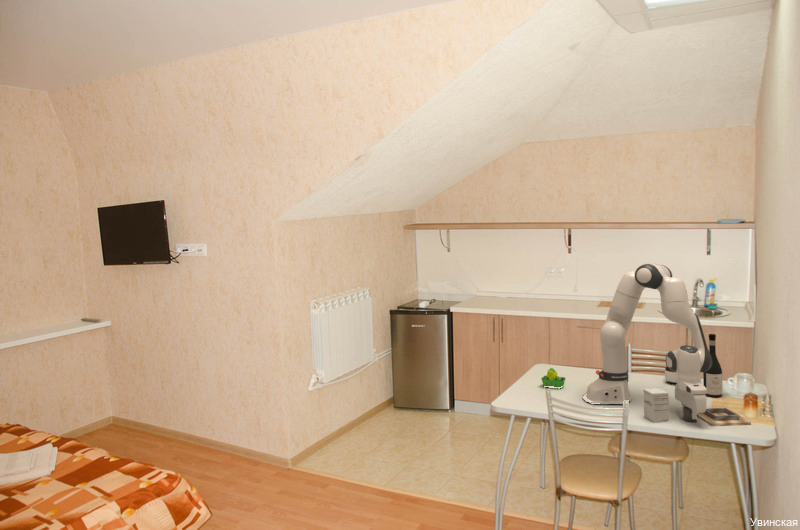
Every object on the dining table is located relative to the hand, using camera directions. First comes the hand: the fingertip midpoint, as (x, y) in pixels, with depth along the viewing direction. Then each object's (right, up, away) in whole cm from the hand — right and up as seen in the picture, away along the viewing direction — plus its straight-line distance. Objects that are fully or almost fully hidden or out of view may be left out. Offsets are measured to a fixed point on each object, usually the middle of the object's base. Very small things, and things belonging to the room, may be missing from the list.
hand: (689, 416), depth 238 cm
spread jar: (+21, +2, +57) cm, 60 cm away
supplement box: (-13, -2, +3) cm, 13 cm away
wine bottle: (+28, +1, +32) cm, 42 cm away
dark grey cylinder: (0, -2, 0) cm, 2 cm away
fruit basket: (-43, -1, +57) cm, 71 cm away
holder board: (+13, -1, 0) cm, 13 cm away
